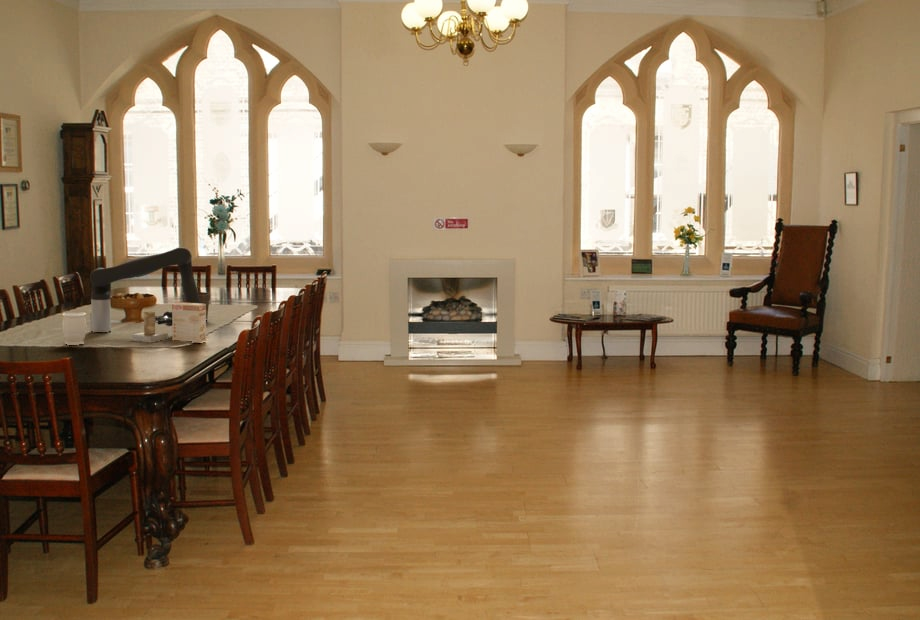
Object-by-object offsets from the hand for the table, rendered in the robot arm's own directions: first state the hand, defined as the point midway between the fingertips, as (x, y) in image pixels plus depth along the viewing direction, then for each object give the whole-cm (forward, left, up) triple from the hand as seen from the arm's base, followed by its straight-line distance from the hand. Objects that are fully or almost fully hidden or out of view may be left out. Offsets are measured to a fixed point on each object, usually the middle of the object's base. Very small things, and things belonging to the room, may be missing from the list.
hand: (151, 321), depth 438 cm
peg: (0, -1, -9) cm, 9 cm away
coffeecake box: (+16, +9, -10) cm, 21 cm away
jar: (-23, -26, -10) cm, 36 cm away
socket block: (0, -1, -10) cm, 10 cm away
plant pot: (-28, +66, -10) cm, 72 cm away
